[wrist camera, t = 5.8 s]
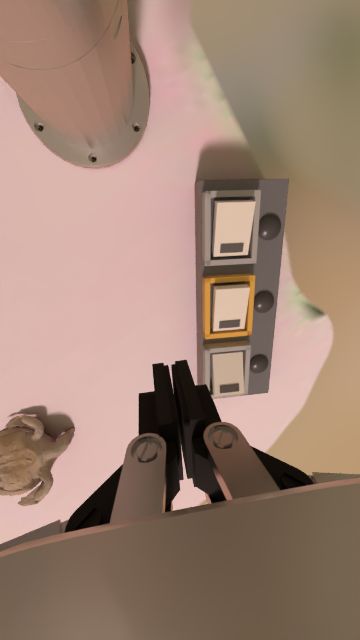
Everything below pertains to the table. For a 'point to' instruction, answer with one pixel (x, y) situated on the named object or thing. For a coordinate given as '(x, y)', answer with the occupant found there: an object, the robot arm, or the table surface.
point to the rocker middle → (229, 307)
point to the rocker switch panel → (240, 277)
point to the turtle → (29, 458)
